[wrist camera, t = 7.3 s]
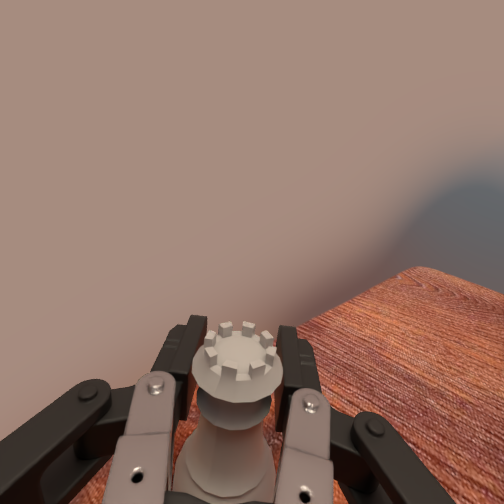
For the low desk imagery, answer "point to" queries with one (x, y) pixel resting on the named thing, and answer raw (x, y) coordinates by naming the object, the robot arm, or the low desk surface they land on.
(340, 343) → the low desk surface
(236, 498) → the rook chess piece
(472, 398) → the low desk surface
